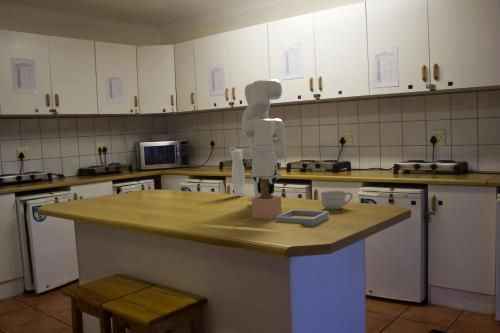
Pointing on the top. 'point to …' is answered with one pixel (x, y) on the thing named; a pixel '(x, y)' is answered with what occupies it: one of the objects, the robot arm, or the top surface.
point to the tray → (306, 221)
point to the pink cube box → (266, 207)
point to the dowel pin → (265, 188)
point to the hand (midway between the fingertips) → (266, 192)
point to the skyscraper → (238, 172)
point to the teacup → (334, 199)
